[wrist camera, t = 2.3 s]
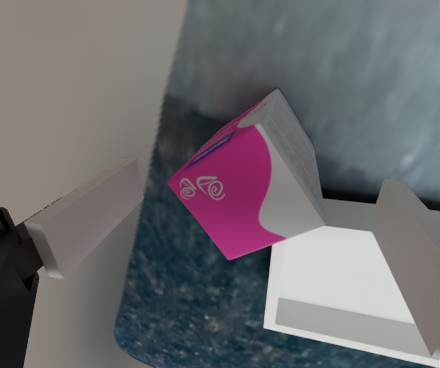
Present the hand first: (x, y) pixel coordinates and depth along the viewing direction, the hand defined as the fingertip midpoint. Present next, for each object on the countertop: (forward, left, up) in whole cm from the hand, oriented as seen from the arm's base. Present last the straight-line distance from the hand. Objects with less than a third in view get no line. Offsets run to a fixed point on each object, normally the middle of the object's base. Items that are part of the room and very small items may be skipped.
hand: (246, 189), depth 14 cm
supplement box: (0, 0, -10) cm, 10 cm away
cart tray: (+11, +11, -9) cm, 18 cm away
